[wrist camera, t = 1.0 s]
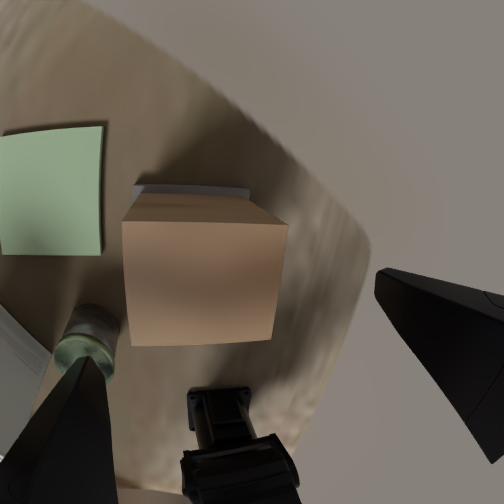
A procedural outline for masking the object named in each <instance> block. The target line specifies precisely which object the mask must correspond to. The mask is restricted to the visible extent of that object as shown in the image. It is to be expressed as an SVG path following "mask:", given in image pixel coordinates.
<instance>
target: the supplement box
mask: <svg viewBox="0 0 504 504" xmlns="http://www.w3.org/2000/svg"><path fill="white" fill-rule="evenodd" d="M51 357H52V354H51V353H50V352H49V351H48V350H47V349H45V348H44V347H43V346H42V345H41V344H40V343H39V342H38V341H37V340H36V339H34V338H33V337H32V336H31V335H30V334H29V333H28V332H27V331H26V330H25V329H24V328H23V327H22V326H21V325H20V324H19V323H18V322H17V321H16V320H15V319H14V318H13V317H12V316H11V315H10V314H9V313H8V312H7V311H6V310H5V308H4V307H3V306H2V305H1V304H0V462H1V461H2V459H3V458H4V457H5V455H6V454H7V452H8V451H9V449H10V448H11V446H12V445H13V443H14V442H15V440H16V439H17V438H18V436H19V435H20V433H21V432H22V430H23V429H24V428H25V426H26V425H27V423H28V422H29V418H30V415H31V412H32V408H33V405H34V402H35V399H36V396H37V393H38V391H39V388H40V385H41V382H42V379H43V377H44V374H45V372H46V369H47V366H48V364H49V361H50V359H51Z"/></svg>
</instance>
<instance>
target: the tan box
mask: <svg viewBox="0 0 504 504" xmlns="http://www.w3.org/2000/svg"><path fill="white" fill-rule="evenodd" d="M249 200H250V189H248V188H239V187H222V186H202V185H173V184H134V185H133V202H132V206H131V208H130V209H129V211H128V212H127V214H126V216H125V217H124V219H123V220H122V246H123V267H124V281H125V293H126V304H127V313H128V322H129V330H130V337H131V344H132V346H178V345H204V344H222V343H236V342H249V341H260V340H271V336H272V331H273V325H274V318H275V312H276V306H277V300H278V293H279V287H280V280H281V274H282V267H283V260H284V253H285V247H286V239H287V232H288V225H287V224H286V223H284V222H283V221H281V220H280V219H278V218H276V217H275V216H273V215H272V214H270V213H269V212H267V211H265V210H264V209H262V208H261V207H259V206H257V205H256V204H254V203H253V202H251V201H249Z"/></svg>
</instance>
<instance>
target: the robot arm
mask: <svg viewBox="0 0 504 504" xmlns="http://www.w3.org/2000/svg"><path fill="white" fill-rule="evenodd" d="M374 290H375V291H374V294H375V298H376V300H377V302H378V303H379V305H380V306H381V307H382V309H383V311H384V312H385V313H386V315H387V317H388V318H389V320H390V321H391V323H392V325H393V326H394V328H395V329H396V331H397V332H398V334H399V335H400V336H401V338H402V339H403V340H404V341H405V343H406V344H407V345H408V346H409V348H410V349H411V350H412V352H413V353H414V354H415V355H416V357H417V358H418V359H419V361H420V362H421V363H422V365H423V366H424V367H425V369H426V370H427V371H428V373H429V374H430V375H431V377H432V378H433V379H434V381H435V382H436V383H437V385H438V386H439V387H440V389H441V390H442V391H443V393H444V394H445V396H446V397H447V399H448V400H449V401H450V403H451V404H452V406H453V407H454V408H455V410H456V411H457V413H458V414H459V416H460V417H461V419H462V420H463V421H464V423H465V425H466V426H467V427H468V429H469V431H470V432H471V434H472V435H473V437H474V438H475V440H476V441H477V443H478V444H479V446H480V448H481V449H482V451H483V452H484V454H485V455H486V457H487V459H488V460H489V462H490V463H491V464H493V463H494V462H496V461H497V460H498V459H499V458H500V457H502V456H503V455H504V296H503V295H499V294H495V293H491V292H487V291H481V290H479V289H474V288H471V287H467V286H463V285H458V284H454V283H450V282H446V281H442V280H438V279H434V278H430V277H426V276H422V275H417V274H413V273H409V272H405V271H401V270H396V269H392V268H385V269H382V270H379V271H378V272H377V273H376V279H375V289H374ZM246 391H247V392H246ZM191 396H193V397H191ZM250 397H251V390H250V388H249V387H243V388H234V389H223V390H212V391H198V392H189V393H188V394H187V407H188V421H189V429H190V431H195V432H196V437H197V441H198V446H199V450H192V451H189V450H186V451H183V454H184V457H183V458H182V460H180V464H181V470H182V493H183V495H184V496H185V497H187V498H189V499H190V501H191V503H193V504H302V503H301V501H300V498H299V495H298V493H297V490H296V488H298V487H299V485H300V482H299V476H298V472H297V469H296V467H295V464H294V463H293V460H292V458H291V457H290V455H289V454H288V452H287V451H286V449H285V448H284V446H283V445H282V443H281V442H280V440H279V438H278V437H277V435H276V434H275V433H273V434H269V436H265V437H261V438H257V436H256V433H255V430H254V428H253V425H252V423H251V420H250V418H249V415H248V410H249V404H250ZM0 504H118V497H117V490H116V482H115V474H114V464H113V452H112V437H111V422H110V415H109V407H108V399H107V390H106V381H105V377H104V375H103V373H102V371H101V370H100V368H99V367H98V366H97V364H96V363H95V361H94V360H93V358H92V357H91V356H83V357H79V358H77V359H76V360H75V362H74V363H73V364H72V365H71V367H70V368H69V369H68V370H67V372H66V373H65V374H64V375H63V377H62V378H61V379H60V381H59V382H58V383H57V384H56V386H55V387H54V388H53V390H52V391H51V392H50V393H49V395H48V396H47V397H46V399H45V400H44V401H43V403H42V404H41V405H40V407H39V408H38V410H37V411H36V412H35V414H34V415H33V416H32V418H31V419H30V421H29V422H28V423H27V425H26V426H25V428H24V429H23V430H22V432H21V433H20V435H19V436H18V438H17V439H16V440H15V442H14V443H13V445H12V446H11V448H10V449H9V451H8V452H7V454H6V455H5V457H4V458H3V459H2V461H1V462H0Z"/></svg>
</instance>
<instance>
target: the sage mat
mask: <svg viewBox="0 0 504 504" xmlns="http://www.w3.org/2000/svg"><path fill="white" fill-rule="evenodd" d="M103 131H104V127H102V126H98V127H80V128H67V129H55V130H46V131H37V132H30V133H22V134H16V135H9V136H4V137H0V241H1V248H2V255H91V256H101V254H102V240H101V208H100V191H101V159H102V143H103Z"/></svg>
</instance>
